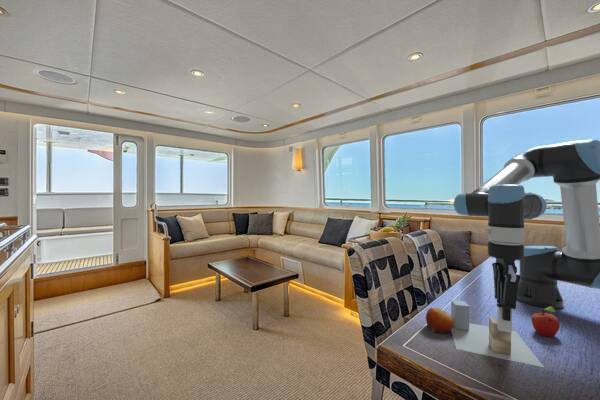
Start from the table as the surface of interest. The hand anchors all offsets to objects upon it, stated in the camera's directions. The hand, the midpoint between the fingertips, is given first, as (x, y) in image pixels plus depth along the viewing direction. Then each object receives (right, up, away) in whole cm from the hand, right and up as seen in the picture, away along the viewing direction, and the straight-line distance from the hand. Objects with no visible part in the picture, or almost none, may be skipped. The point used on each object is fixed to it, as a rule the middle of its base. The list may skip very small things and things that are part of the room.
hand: (504, 330), depth 68 cm
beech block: (+1, -7, +3) cm, 8 cm away
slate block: (-2, -7, +16) cm, 17 cm away
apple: (+22, -8, +11) cm, 26 cm away
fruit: (-10, -8, +14) cm, 19 cm away
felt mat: (+2, -8, +8) cm, 11 cm away
